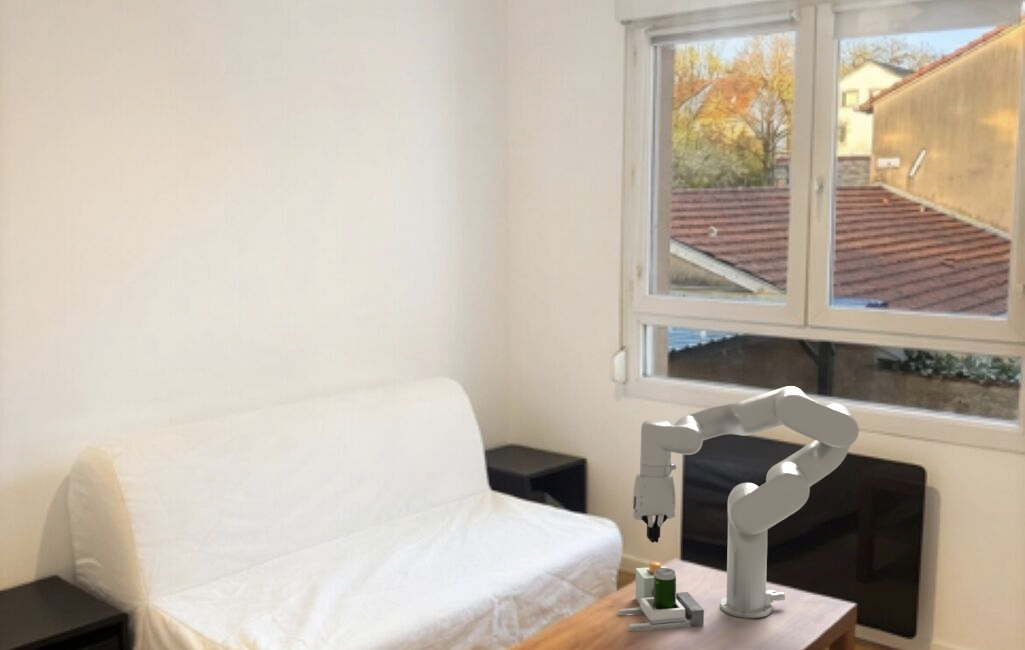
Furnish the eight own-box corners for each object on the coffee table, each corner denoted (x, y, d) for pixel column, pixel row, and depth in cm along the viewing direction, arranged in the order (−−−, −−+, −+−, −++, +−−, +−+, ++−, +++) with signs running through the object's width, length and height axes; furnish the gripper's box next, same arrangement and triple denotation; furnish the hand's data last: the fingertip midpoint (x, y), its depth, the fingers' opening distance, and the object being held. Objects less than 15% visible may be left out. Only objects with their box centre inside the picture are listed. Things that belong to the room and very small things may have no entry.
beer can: (663, 625, 233) (664, 577, 232) (648, 617, 238) (649, 570, 236) (680, 620, 236) (680, 572, 235) (665, 612, 241) (665, 566, 239)
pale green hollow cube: (665, 595, 251) (665, 565, 250) (675, 607, 244) (675, 576, 243) (635, 598, 250) (635, 568, 249) (644, 610, 242) (644, 579, 241)
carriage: (671, 603, 243) (671, 593, 242) (686, 620, 232) (686, 610, 232) (639, 606, 241) (639, 596, 241) (652, 623, 231) (652, 613, 230)
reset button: (658, 570, 248) (659, 561, 247) (662, 575, 245) (662, 565, 244) (647, 571, 247) (647, 562, 247) (651, 575, 244) (651, 566, 244)
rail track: (687, 607, 244) (687, 592, 243) (703, 625, 233) (703, 609, 232) (618, 613, 241) (618, 597, 240) (631, 632, 230) (631, 616, 229)
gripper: (678, 464, 248) (676, 534, 250) (622, 466, 245) (620, 537, 247) (689, 472, 240) (686, 544, 243) (630, 475, 238) (629, 547, 240)
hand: (653, 540), depth 245 cm, fingers closed
